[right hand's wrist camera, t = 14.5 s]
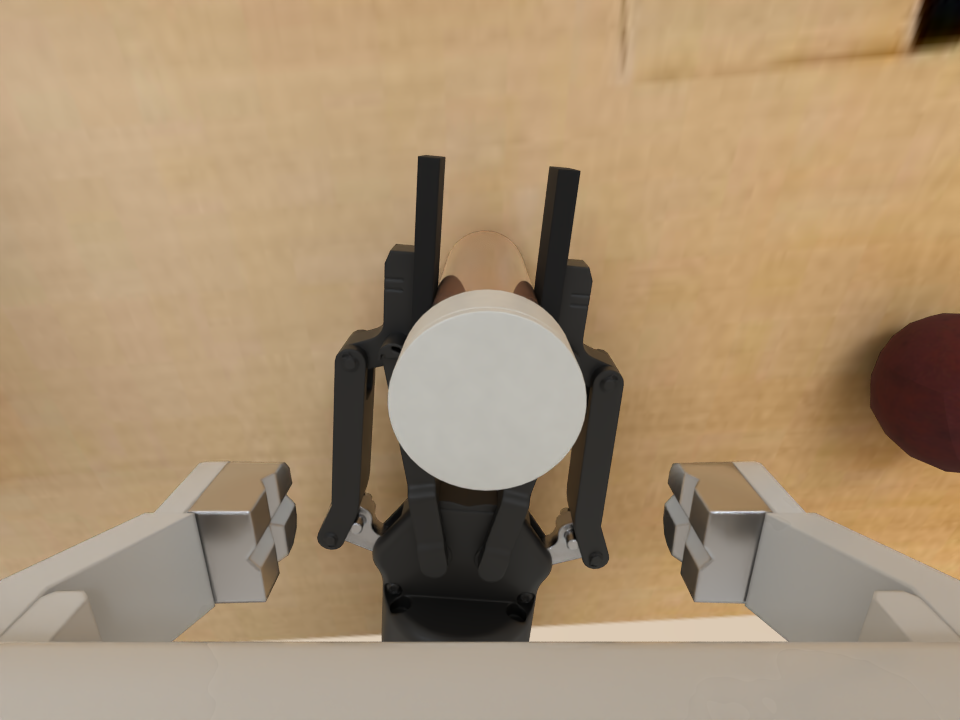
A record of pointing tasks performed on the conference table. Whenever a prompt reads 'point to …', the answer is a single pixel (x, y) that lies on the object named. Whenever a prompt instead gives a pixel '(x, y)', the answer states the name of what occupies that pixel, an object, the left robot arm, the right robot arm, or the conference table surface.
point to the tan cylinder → (484, 267)
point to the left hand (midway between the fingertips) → (498, 164)
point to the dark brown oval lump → (921, 390)
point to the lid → (487, 391)
